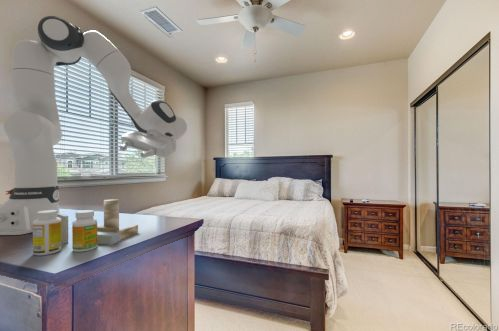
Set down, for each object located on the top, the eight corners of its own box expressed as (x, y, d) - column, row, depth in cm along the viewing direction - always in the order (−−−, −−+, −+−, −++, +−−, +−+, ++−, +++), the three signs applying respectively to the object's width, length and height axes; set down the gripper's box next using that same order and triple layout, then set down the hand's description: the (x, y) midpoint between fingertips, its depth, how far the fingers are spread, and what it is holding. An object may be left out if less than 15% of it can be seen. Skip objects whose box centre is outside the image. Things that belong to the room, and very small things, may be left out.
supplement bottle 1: (63, 247, 66) (63, 208, 66) (59, 253, 61) (59, 211, 61) (36, 250, 63) (35, 210, 63) (30, 258, 58) (29, 214, 58)
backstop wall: (85, 238, 73) (85, 230, 73) (119, 241, 70) (119, 232, 70) (75, 241, 70) (75, 232, 70) (111, 244, 67) (111, 235, 67)
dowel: (101, 238, 73) (101, 201, 73) (106, 235, 77) (106, 199, 77) (116, 238, 74) (116, 200, 74) (120, 234, 77) (120, 199, 77)
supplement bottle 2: (85, 253, 61) (84, 213, 61) (66, 251, 62) (66, 212, 62) (102, 246, 66) (102, 209, 66) (85, 244, 67) (85, 209, 67)
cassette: (48, 237, 75) (47, 211, 75) (55, 236, 76) (55, 211, 76) (62, 244, 68) (62, 216, 68) (70, 243, 69) (70, 215, 69)
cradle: (111, 230, 82) (111, 220, 82) (138, 232, 79) (138, 221, 79) (88, 238, 73) (87, 226, 73) (116, 241, 71) (116, 228, 70)
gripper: (136, 124, 101) (107, 136, 89) (178, 137, 95) (153, 151, 84) (138, 138, 104) (110, 152, 93) (179, 151, 98) (155, 167, 87)
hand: (131, 152), depth 88 cm, fingers open, 8 cm apart
